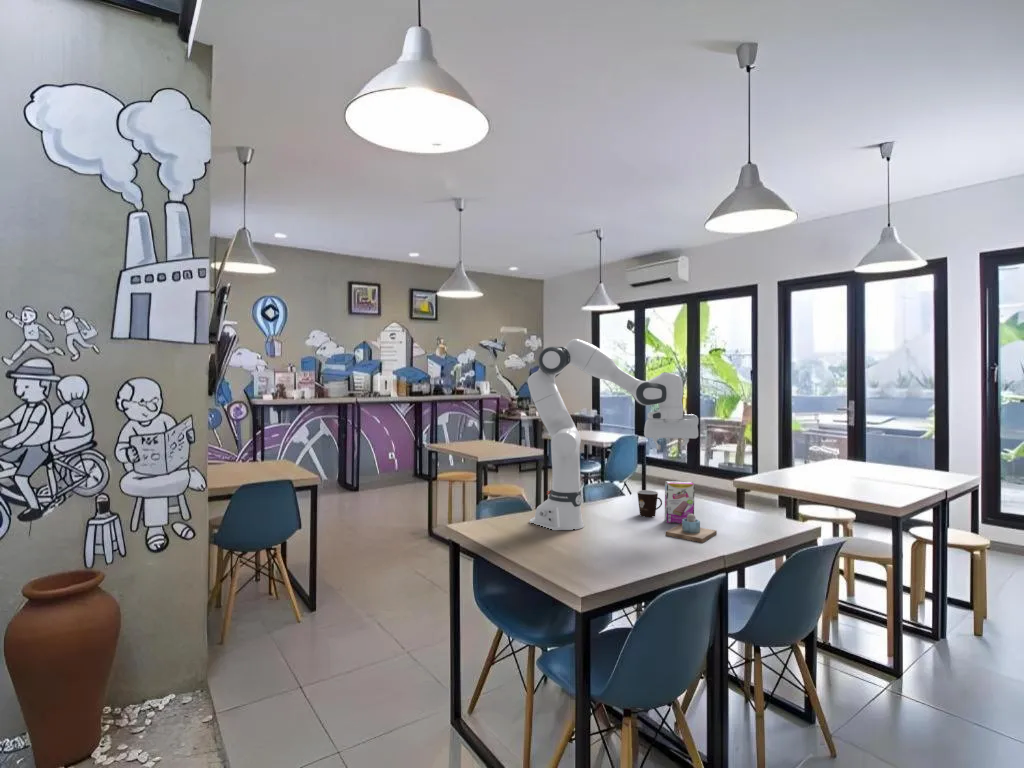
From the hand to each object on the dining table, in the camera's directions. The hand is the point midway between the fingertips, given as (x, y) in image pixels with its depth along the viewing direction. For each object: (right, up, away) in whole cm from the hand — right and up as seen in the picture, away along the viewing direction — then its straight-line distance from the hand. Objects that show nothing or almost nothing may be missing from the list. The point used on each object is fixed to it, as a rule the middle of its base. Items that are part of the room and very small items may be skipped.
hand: (670, 449), depth 209 cm
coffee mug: (-3, -31, +21) cm, 38 cm away
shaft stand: (+5, -31, -7) cm, 32 cm away
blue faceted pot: (+5, -30, -7) cm, 31 cm away
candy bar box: (+7, -31, +11) cm, 34 cm away
